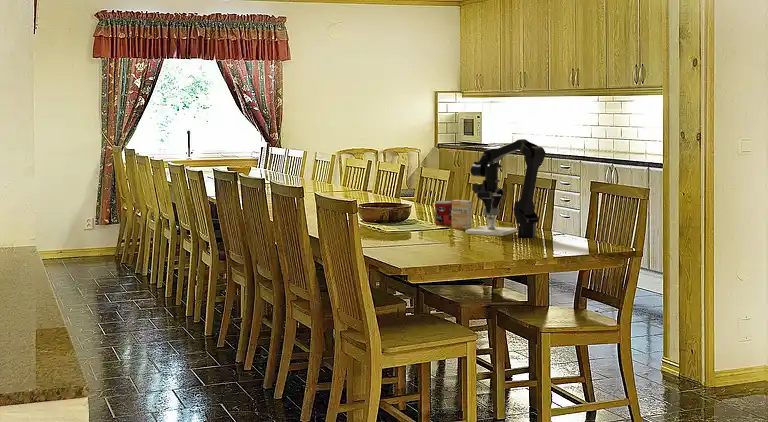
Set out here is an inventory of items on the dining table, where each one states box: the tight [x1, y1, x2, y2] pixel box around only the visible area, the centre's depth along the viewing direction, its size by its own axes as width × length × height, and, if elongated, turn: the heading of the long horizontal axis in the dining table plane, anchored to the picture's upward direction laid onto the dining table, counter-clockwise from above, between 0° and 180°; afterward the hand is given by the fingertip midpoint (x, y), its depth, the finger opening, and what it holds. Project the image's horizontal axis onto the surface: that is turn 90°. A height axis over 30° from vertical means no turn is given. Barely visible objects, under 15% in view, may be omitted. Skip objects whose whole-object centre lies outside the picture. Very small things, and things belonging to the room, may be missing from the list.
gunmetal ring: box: [483, 206, 500, 217], centre depth 424 cm, size 7×7×3 cm
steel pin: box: [486, 216, 496, 230], centre depth 424 cm, size 4×4×6 cm
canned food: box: [434, 200, 452, 226], centre depth 454 cm, size 8×8×11 cm
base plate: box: [464, 225, 518, 237], centre depth 425 cm, size 18×16×2 cm
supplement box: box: [451, 199, 473, 230], centre depth 439 cm, size 8×5×13 cm, turn 62°
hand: (491, 212), depth 424 cm, fingers closed on gunmetal ring, 7 cm apart
